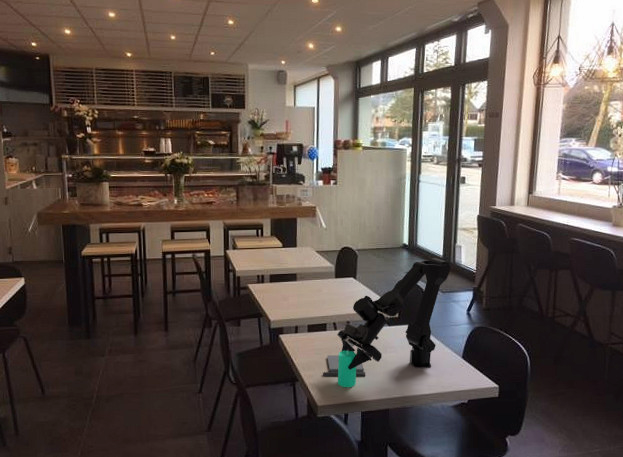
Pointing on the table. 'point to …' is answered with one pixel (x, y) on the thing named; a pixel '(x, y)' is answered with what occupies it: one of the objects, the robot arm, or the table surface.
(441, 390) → the table surface
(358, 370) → the slate coaster
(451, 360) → the table surface
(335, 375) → the dark grey bar
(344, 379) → the candle
